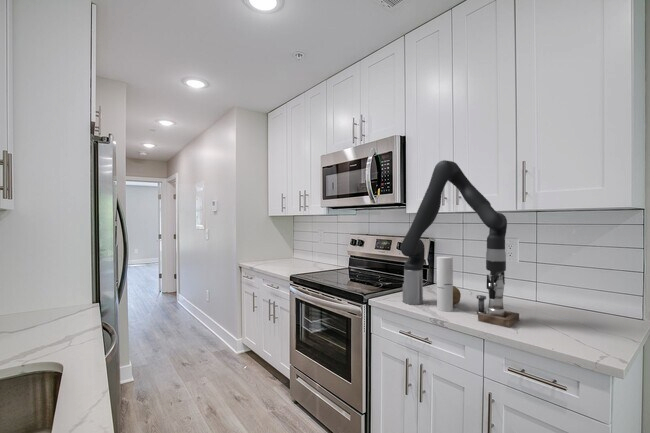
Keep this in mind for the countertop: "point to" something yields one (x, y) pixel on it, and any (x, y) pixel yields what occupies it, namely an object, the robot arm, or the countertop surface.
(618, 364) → the countertop surface
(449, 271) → the cylindrical container
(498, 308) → the plastic bottle
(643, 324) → the countertop surface
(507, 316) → the wooden tray
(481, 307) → the bobbin post
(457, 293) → the natural sponge
